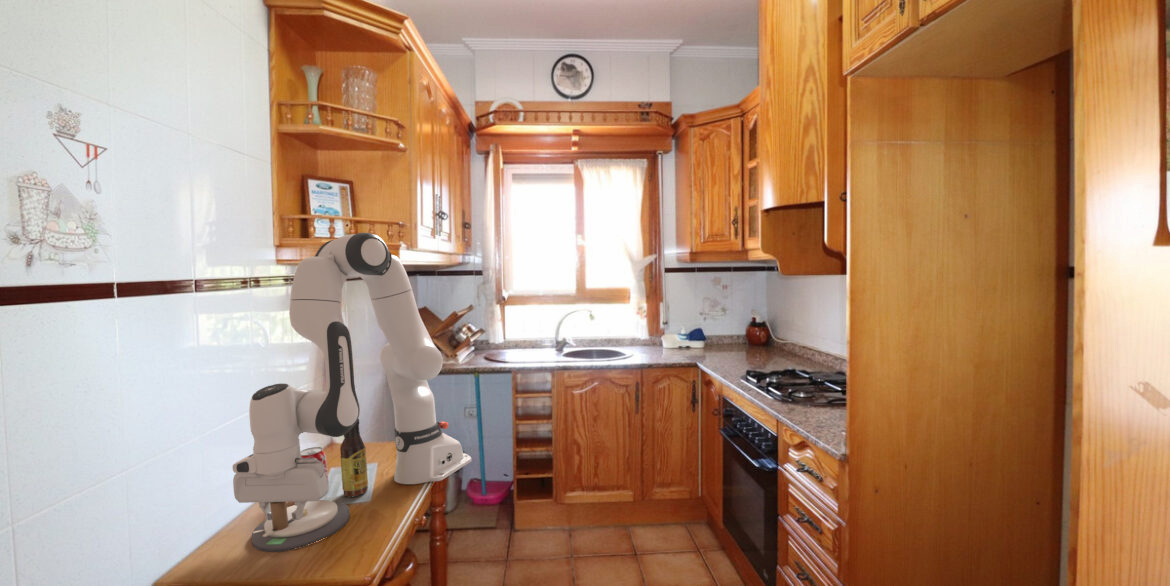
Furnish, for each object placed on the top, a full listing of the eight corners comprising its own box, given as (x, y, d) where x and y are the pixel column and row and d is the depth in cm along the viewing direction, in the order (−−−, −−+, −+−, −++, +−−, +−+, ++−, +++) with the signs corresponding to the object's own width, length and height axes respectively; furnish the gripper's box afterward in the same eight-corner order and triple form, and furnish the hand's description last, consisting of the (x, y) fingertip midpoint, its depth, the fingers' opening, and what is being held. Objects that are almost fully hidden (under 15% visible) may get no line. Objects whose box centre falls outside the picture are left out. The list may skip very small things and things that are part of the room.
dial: (305, 502, 128) (302, 474, 128) (351, 508, 123) (349, 479, 123) (240, 537, 112) (236, 506, 112) (290, 546, 107) (287, 513, 107)
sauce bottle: (359, 498, 132) (352, 424, 131) (338, 498, 134) (331, 424, 132) (374, 487, 139) (367, 416, 137) (354, 487, 140) (347, 416, 139)
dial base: (322, 500, 133) (322, 494, 133) (366, 518, 121) (366, 511, 121) (236, 537, 116) (235, 529, 116) (277, 561, 105) (277, 554, 105)
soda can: (322, 486, 142) (318, 444, 141) (334, 492, 137) (329, 449, 137) (295, 496, 136) (291, 452, 136) (306, 502, 132) (302, 457, 131)
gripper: (330, 452, 115) (336, 511, 115) (247, 454, 117) (253, 512, 118) (313, 463, 108) (319, 525, 109) (225, 465, 110) (232, 527, 111)
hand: (284, 519), depth 113 cm, fingers open, 5 cm apart
